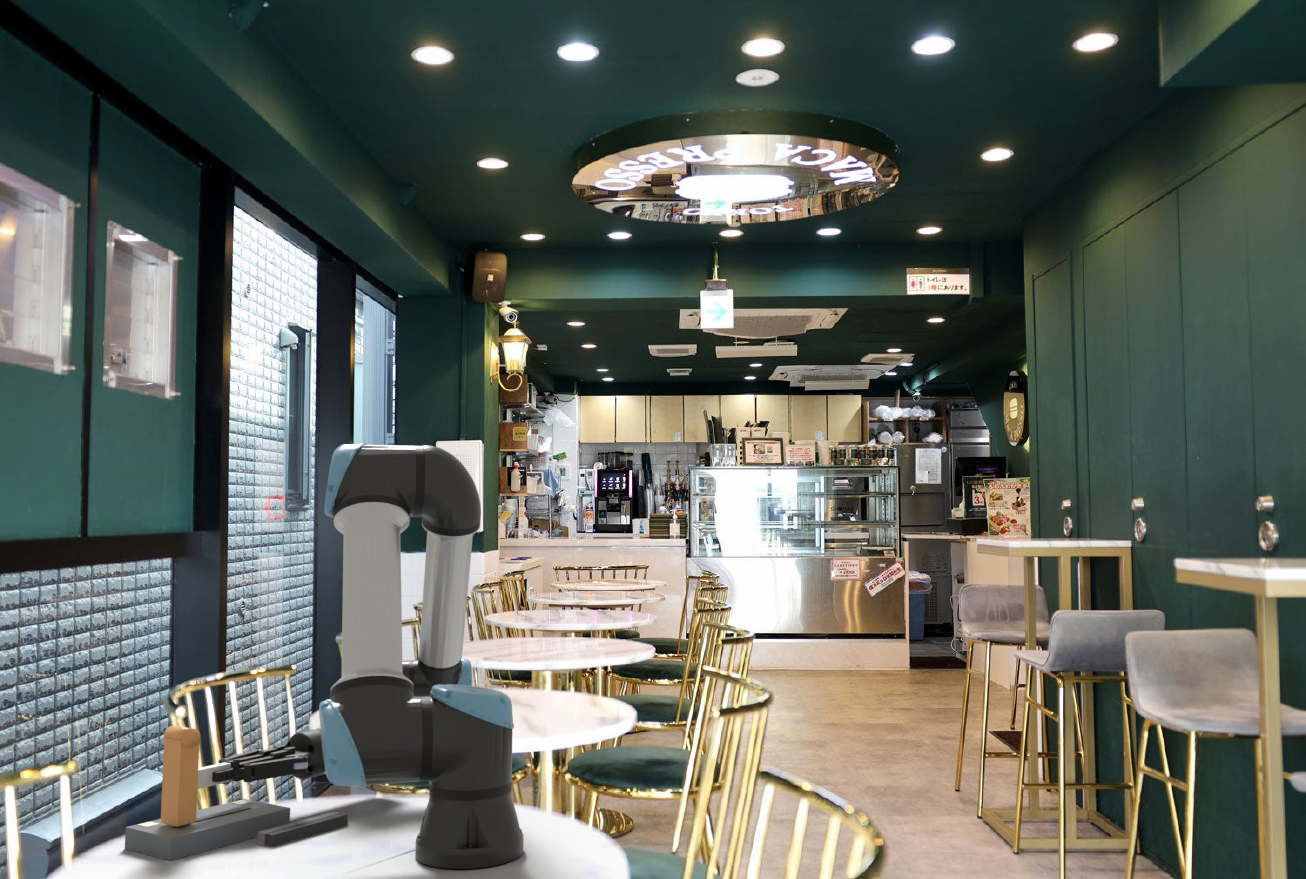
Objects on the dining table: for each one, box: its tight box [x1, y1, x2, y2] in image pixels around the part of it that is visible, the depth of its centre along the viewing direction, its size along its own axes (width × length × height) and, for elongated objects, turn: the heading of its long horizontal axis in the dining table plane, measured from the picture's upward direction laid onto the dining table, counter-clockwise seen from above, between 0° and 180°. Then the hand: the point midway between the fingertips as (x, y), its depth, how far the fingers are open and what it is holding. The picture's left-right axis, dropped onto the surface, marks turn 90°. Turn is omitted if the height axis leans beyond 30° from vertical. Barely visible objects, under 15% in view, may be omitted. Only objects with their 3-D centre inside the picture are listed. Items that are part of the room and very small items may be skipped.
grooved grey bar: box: [256, 811, 349, 848], centre depth 160 cm, size 3×14×2 cm, turn 148°
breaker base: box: [124, 798, 291, 861], centre depth 158 cm, size 11×20×3 cm, turn 148°
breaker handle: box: [160, 725, 201, 827], centre depth 154 cm, size 5×3×14 cm, turn 58°
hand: (188, 780), depth 156 cm, fingers closed
